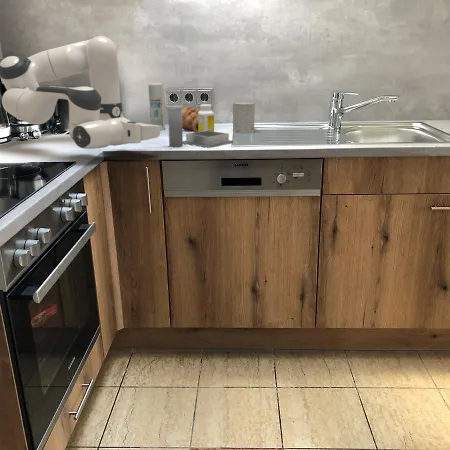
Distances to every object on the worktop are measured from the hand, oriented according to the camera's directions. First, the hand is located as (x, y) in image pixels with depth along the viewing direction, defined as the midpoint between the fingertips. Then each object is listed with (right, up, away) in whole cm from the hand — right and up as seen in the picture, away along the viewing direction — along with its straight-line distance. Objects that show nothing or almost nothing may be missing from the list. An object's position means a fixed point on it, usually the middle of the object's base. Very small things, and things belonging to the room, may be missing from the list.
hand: (152, 126), depth 176 cm
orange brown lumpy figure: (+12, +6, +45) cm, 47 cm away
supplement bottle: (+18, +2, +32) cm, 37 cm away
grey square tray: (+19, -3, +16) cm, 25 cm away
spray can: (-5, +8, +50) cm, 51 cm away
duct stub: (+7, -5, +11) cm, 14 cm away
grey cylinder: (+34, +6, +44) cm, 56 cm away
